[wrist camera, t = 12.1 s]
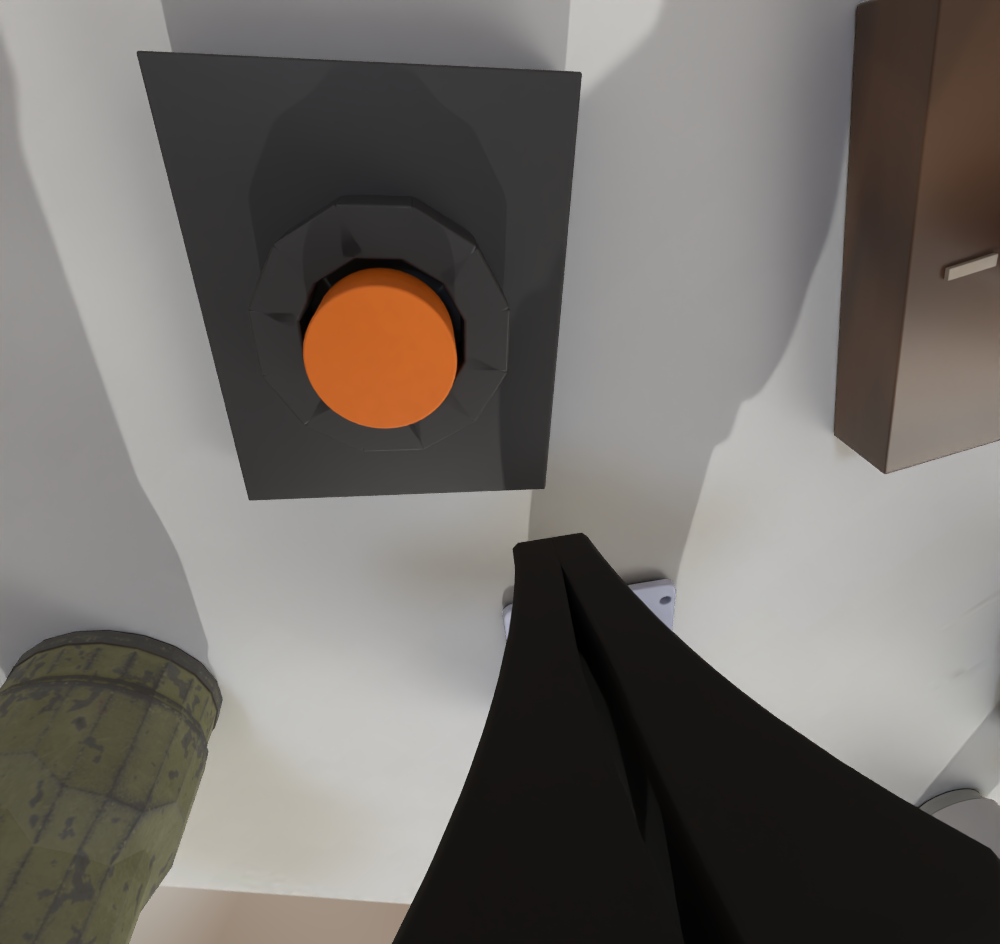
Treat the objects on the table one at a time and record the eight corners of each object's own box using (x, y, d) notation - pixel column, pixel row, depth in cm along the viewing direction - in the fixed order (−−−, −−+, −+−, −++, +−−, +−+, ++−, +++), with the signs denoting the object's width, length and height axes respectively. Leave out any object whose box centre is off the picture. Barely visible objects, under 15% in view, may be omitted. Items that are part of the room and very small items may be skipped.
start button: (454, 398, 16) (457, 427, 15) (324, 401, 16) (314, 431, 14) (452, 267, 14) (456, 285, 13) (304, 266, 14) (290, 284, 12)
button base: (534, 457, 22) (555, 519, 18) (264, 466, 20) (233, 535, 17) (563, 77, 15) (603, 66, 12) (172, 59, 14) (94, 40, 11)
